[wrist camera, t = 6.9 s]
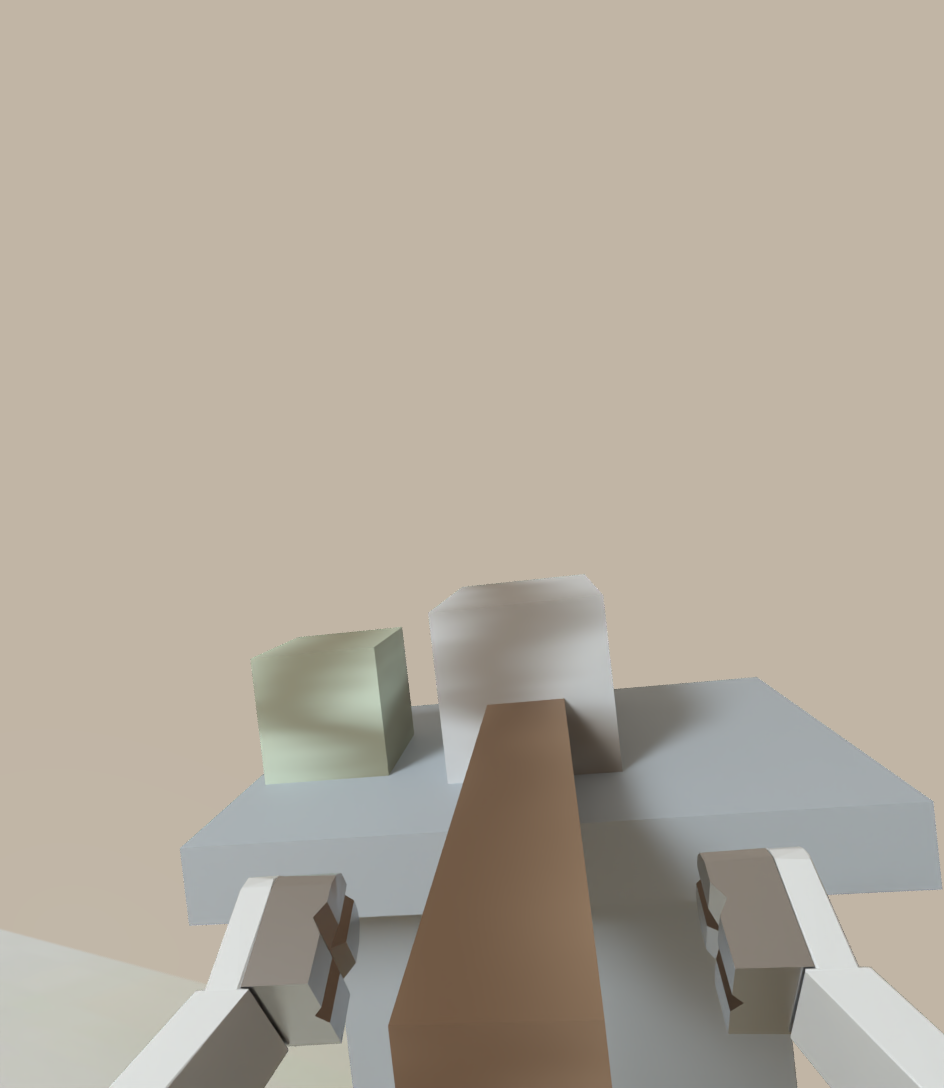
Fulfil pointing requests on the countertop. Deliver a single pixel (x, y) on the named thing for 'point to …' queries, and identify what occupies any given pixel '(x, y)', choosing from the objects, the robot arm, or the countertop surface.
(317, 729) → the sage cube
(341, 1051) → the countertop surface
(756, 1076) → the grey pedestal
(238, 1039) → the robot arm
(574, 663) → the steel-headed mallet
